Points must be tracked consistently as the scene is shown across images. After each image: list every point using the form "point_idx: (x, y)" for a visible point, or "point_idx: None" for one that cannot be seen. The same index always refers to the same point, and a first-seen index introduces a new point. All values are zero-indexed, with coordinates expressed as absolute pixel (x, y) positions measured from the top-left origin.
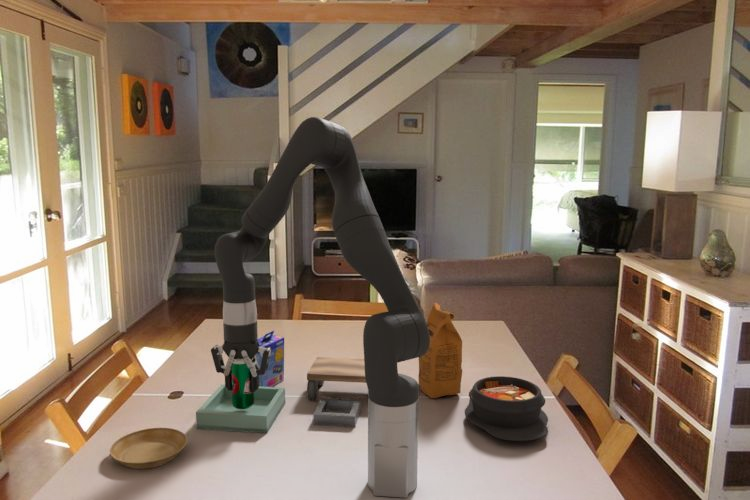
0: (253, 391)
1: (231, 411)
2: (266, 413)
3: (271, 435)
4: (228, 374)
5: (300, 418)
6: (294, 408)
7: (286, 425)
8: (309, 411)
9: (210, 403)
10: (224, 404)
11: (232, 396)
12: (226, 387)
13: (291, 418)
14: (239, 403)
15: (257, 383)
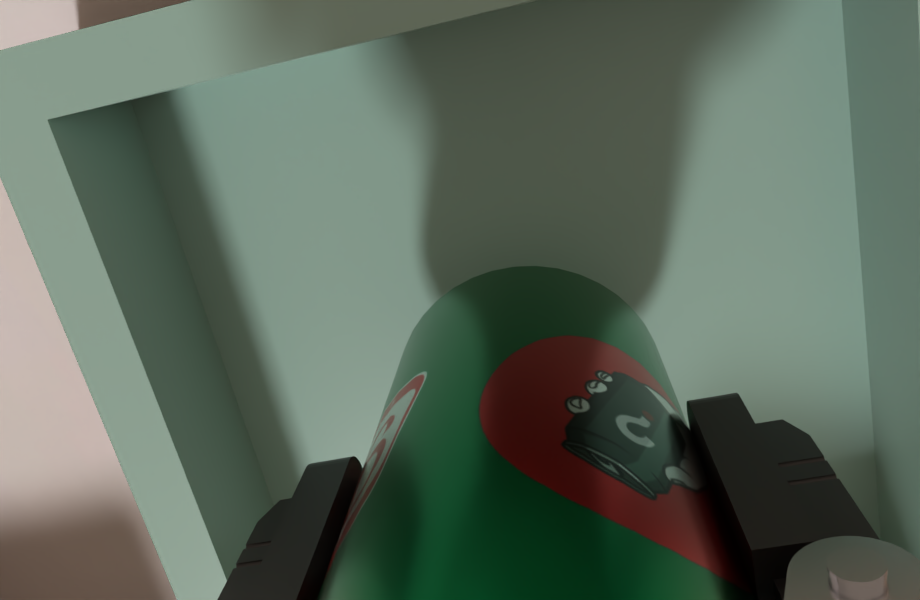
0: (326, 461)
1: (653, 309)
2: (4, 135)
3: (13, 26)
4: (793, 566)
5: (3, 434)
6: (169, 585)
7: (23, 272)
8: (21, 569)
9: (917, 203)
10: (815, 434)
11: (628, 340)
12: (779, 428)
13: (73, 411)
14: (500, 287)
15: (242, 570)
